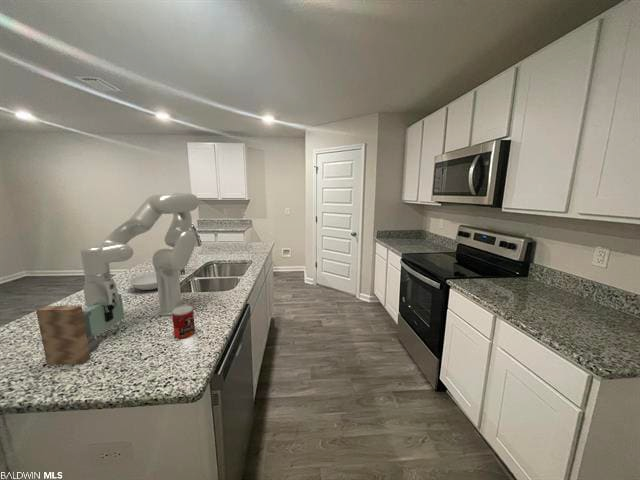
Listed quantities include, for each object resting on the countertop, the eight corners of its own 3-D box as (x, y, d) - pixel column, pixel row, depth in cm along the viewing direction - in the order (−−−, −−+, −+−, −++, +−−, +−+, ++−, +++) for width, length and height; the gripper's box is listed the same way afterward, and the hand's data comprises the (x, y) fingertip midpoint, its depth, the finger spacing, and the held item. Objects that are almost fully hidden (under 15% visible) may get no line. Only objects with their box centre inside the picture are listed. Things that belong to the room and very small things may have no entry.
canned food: (181, 341, 99) (178, 315, 97) (170, 335, 103) (167, 310, 101) (199, 332, 105) (197, 308, 104) (188, 327, 110) (186, 303, 108)
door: (126, 317, 110) (123, 294, 108) (82, 346, 89) (77, 317, 87) (115, 317, 109) (111, 294, 107) (68, 346, 89) (63, 317, 87)
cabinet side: (106, 346, 95) (99, 297, 91) (82, 364, 85) (73, 309, 82) (74, 347, 95) (66, 297, 91) (47, 364, 85) (35, 309, 81)
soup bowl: (150, 280, 169) (149, 271, 168) (182, 282, 166) (182, 272, 165) (117, 293, 146) (116, 283, 145) (154, 296, 143) (153, 285, 142)
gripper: (126, 274, 102) (132, 315, 105) (85, 274, 101) (92, 316, 105) (111, 280, 94) (118, 325, 98) (67, 280, 94) (75, 325, 97)
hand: (105, 319), depth 101 cm, fingers closed on door, 3 cm apart
